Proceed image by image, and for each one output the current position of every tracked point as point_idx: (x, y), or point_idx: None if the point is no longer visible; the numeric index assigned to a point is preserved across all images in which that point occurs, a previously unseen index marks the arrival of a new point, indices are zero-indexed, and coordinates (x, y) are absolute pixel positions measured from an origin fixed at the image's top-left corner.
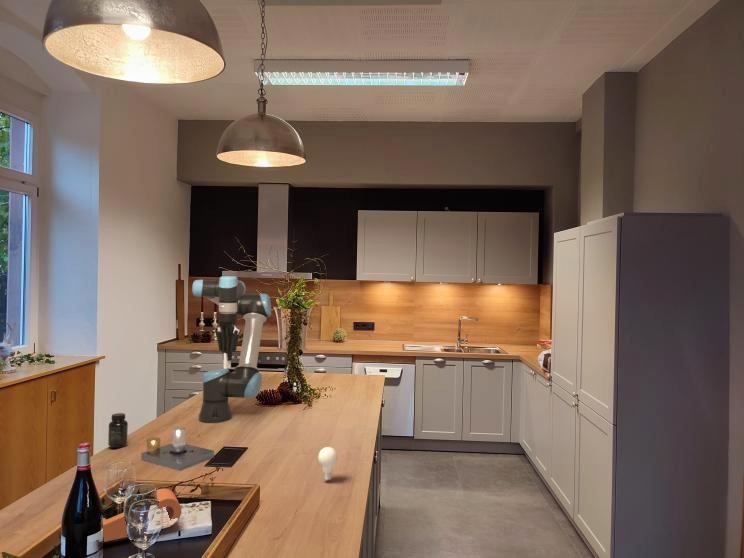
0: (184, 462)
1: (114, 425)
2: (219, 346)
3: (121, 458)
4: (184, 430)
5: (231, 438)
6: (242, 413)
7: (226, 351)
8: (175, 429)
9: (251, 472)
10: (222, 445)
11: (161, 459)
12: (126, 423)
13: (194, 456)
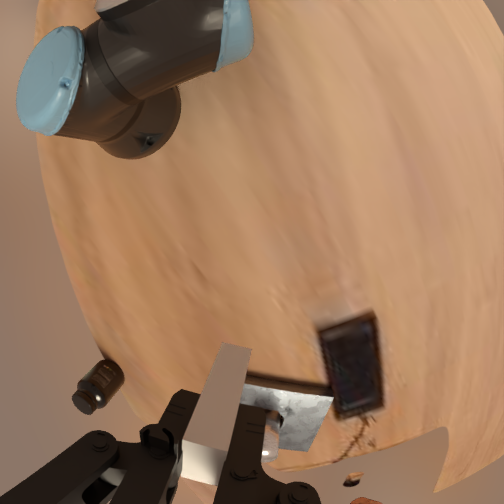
0: (310, 445)
1: (99, 408)
2: (89, 494)
3: None
4: (277, 453)
5: (298, 265)
6: None
7: (177, 467)
8: None
9: (421, 408)
10: (308, 323)
11: None
12: (102, 395)
13: (312, 427)
